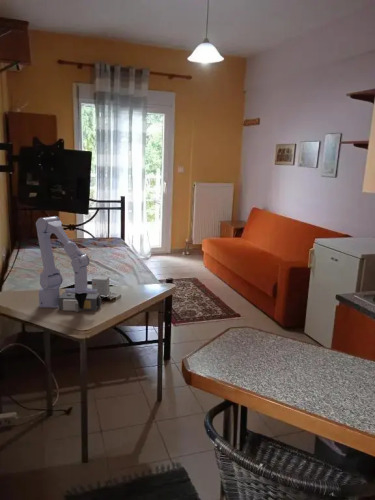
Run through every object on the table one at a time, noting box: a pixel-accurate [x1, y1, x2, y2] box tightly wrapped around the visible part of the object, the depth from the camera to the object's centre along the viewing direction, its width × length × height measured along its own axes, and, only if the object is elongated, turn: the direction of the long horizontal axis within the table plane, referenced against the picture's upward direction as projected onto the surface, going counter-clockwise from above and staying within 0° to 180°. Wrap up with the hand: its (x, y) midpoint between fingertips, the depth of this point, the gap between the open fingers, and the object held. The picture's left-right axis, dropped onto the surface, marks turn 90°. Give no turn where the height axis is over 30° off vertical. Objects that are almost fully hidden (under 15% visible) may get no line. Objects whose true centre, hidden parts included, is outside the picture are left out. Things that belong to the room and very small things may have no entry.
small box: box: [91, 275, 111, 296], centre depth 215 cm, size 8×6×10 cm
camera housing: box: [58, 291, 102, 312], centre depth 199 cm, size 19×9×7 cm, turn 90°
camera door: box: [62, 299, 82, 313], centre depth 192 cm, size 8×4×5 cm, turn 90°
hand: (81, 308), depth 191 cm, fingers closed
